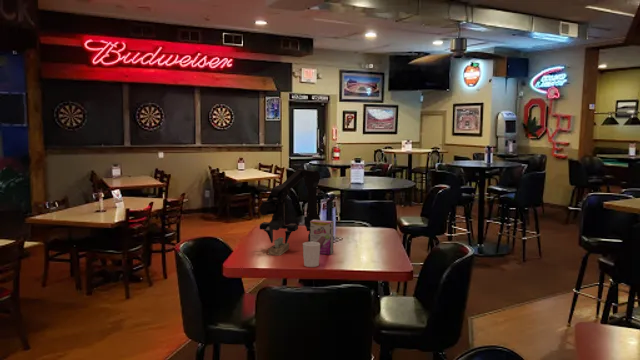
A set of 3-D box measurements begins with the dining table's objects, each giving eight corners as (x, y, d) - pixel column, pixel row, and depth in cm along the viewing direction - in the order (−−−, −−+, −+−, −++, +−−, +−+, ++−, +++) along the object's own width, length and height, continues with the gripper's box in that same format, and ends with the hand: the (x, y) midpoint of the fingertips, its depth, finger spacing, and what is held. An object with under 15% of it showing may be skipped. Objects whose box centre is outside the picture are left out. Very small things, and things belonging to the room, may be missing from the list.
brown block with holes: (289, 248, 250) (289, 243, 250) (279, 255, 237) (279, 249, 236) (278, 248, 252) (278, 242, 251) (268, 254, 238) (268, 248, 238)
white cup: (302, 263, 224) (302, 241, 223) (319, 262, 224) (319, 241, 223) (303, 267, 216) (303, 245, 215) (320, 267, 217) (320, 245, 216)
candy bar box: (309, 253, 241) (309, 221, 239) (312, 251, 246) (312, 219, 244) (330, 255, 237) (330, 222, 236) (333, 253, 242) (333, 220, 240)
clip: (283, 249, 248) (283, 237, 247) (278, 252, 240) (278, 240, 240) (279, 248, 248) (279, 237, 248) (274, 252, 241) (274, 240, 240)
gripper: (255, 214, 237) (255, 246, 238) (291, 216, 232) (291, 248, 234) (263, 211, 248) (263, 241, 249) (298, 212, 243) (298, 243, 244)
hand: (278, 243), depth 244 cm, fingers open, 7 cm apart
